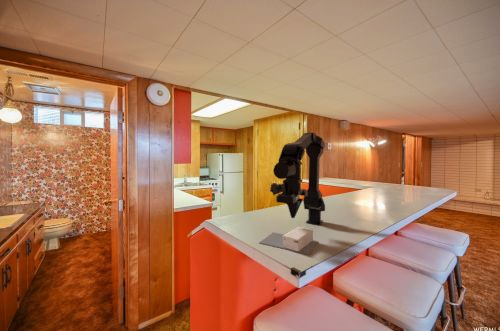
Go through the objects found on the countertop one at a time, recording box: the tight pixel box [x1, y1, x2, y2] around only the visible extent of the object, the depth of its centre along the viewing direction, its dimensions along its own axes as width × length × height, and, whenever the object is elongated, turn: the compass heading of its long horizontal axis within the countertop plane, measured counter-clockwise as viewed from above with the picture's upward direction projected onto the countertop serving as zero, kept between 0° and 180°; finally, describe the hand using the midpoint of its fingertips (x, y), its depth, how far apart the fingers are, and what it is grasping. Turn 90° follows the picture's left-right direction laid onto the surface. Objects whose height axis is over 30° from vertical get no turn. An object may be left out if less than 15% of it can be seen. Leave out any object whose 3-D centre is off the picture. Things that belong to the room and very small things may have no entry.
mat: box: [258, 232, 319, 256], centre depth 75 cm, size 12×18×1 cm, turn 59°
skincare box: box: [283, 226, 314, 251], centre depth 73 cm, size 6×4×12 cm
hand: (292, 217), depth 79 cm, fingers closed
